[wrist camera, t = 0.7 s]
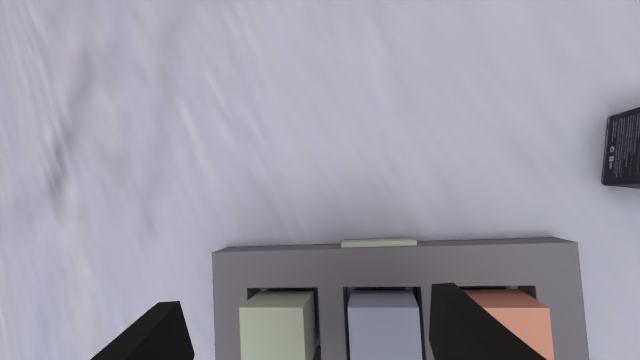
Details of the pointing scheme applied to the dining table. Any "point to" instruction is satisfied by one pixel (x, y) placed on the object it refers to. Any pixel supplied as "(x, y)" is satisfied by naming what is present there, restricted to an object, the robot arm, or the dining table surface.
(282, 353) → the sage button
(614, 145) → the box
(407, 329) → the slate button
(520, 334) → the terracotta button
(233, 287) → the button panel
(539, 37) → the dining table surface
